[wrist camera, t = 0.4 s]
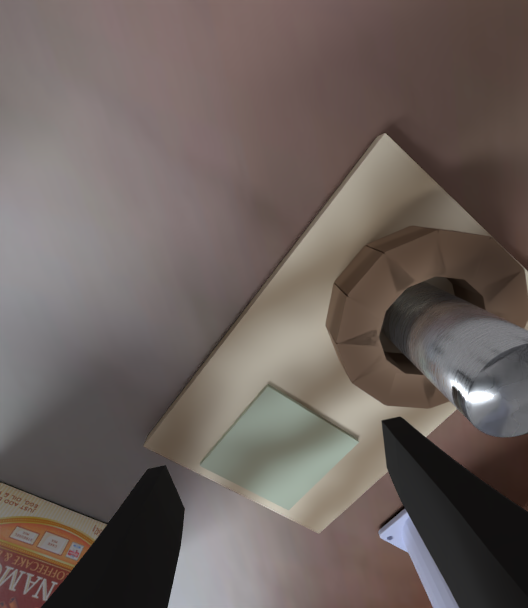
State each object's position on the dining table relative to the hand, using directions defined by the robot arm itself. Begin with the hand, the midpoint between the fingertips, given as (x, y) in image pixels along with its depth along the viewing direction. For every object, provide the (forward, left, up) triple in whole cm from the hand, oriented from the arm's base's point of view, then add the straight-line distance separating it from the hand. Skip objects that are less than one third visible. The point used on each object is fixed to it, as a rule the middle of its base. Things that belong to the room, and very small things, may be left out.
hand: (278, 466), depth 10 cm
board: (-6, -1, -10) cm, 12 cm away
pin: (-6, -7, -9) cm, 13 cm away
